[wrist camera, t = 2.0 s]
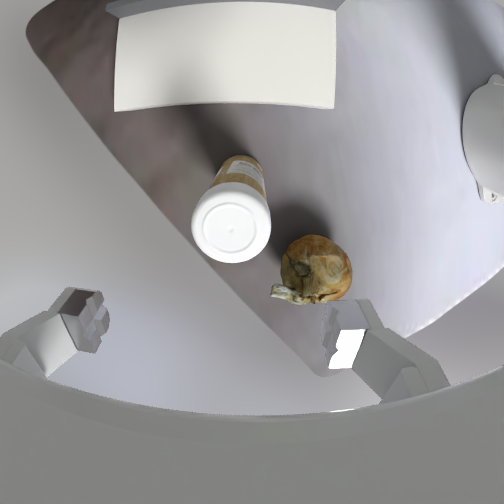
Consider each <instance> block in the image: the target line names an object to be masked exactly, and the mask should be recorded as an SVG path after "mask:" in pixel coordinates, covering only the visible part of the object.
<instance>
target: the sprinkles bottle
mask: <svg viewBox="0 0 504 504" xmlns="http://www.w3.org/2000/svg"><path fill="white" fill-rule="evenodd" d="M191 229H192V234H193V237H194V239H195V242H196V243H197V245H198V246H199V248H200V249H201V250H202V251H203V252H204V253H205V254H207V255H208V256H210V257H211V258H213V259H216V260H218V261H221V262H227V263H238V262H243V261H246V260H249V259H251V258H253V257H254V256H256V255H257V254H258V253H260V252H261V250H262V249H263V248H264V247H265V245H266V244H267V242H268V239H269V237H270V232H271V218H270V211H269V208H268V205H267V203H266V193H265V186H264V180H263V171H262V168H261V166H260V165H259V164H258V162H256V161H255V160H254V159H253V158H251V157H248V156H245V155H237V156H233V157H230V158H229V159H227V160H226V161H225V162H224V163H223V165H222V166H221V168H220V169H219V172H218V173H217V175H216V176H215V178H214V180H213V182H212V185H211V187H210V188H209V190H208V191H207V192H205V193H204V195H203V196H202V197H201V199H200V200H199V202H198V204H197V206H196V208H195V210H194V213H193V216H192V221H191Z"/></svg>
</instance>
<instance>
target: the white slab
mask: <svg viewBox="0 0 504 504" xmlns="http://www.w3.org/2000/svg"><path fill="white" fill-rule="evenodd" d="M344 1H345V0H118V1H115V2H111V3H108V4H106V9H105V11H106V12H108V13H110V14H112V15H114V16H116V17H117V18H119V27H118V36H117V47H116V61H115V88H114V112H116V111H131V110H138V109H145V108H153V107H163V106H174V105H187V104H207V103H258V104H278V105H292V106H303V107H312V108H320V109H334V97H335V73H336V10H337V9H338V8H339V6H340V5H341V4H342V3H343V2H344Z"/></svg>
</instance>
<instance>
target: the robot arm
mask: <svg viewBox="0 0 504 504" xmlns="http://www.w3.org/2000/svg"><path fill="white" fill-rule="evenodd" d="M463 145H464V151H465V155H466V159H467V162H468V165H469V167H470V170H471V172H472V173H473V175H474V177H475V179H476V181H477V183H478V189H479V194H480V198H481V200H482V201H483V202H485V203H488V204H490V203H501V202H504V79H503V78H502V77H501V76H500V75H496V74H493V75H492V76H491V78H490V79H489V81H488V83H487V84H486V85H484V86H481V87H479V88H477V89H476V90H475V91H474V92H473V93H472V94H471V96H470V98H469V99H468V102H467V104H466V107H465V111H464V117H463ZM103 302H104V298H103V295H102V293H101V292H100V291H98V290H90V289H82V288H74V287H68V288H66V289H65V290H64V291H63V292H62V294H61V295H60V296H59V297H58V298H57V300H56V301H55V302H54V303H53V305H52V306H51V307H50V309H49V310H48V311H43V312H41V313H39V314H38V315H36V316H34V317H32V318H30V319H29V320H27V321H25V322H23V323H21V324H19V325H17V326H16V327H14V328H12V329H10V330H8V331H7V332H5V333H3V334H2V336H1V337H0V504H504V365H502V366H500V367H498V368H495V369H493V370H491V371H489V372H486V373H484V374H481V375H479V376H476V377H474V378H471V379H468V380H466V381H463V382H460V383H457V384H455V385H450V383H449V381H448V379H447V378H446V376H445V374H444V372H443V370H442V368H441V366H440V364H439V363H438V361H437V360H436V359H434V358H433V357H431V356H430V355H428V354H427V353H425V352H424V351H422V350H421V349H419V348H418V347H416V346H415V345H413V344H412V343H410V342H409V341H407V340H406V339H404V338H403V337H401V336H400V335H398V334H397V333H395V332H394V331H392V330H391V329H389V328H384V326H383V324H382V322H381V320H380V318H379V316H378V315H377V313H376V311H375V309H374V307H373V305H372V303H371V302H370V300H369V299H355V300H328V301H327V303H326V306H325V312H326V316H325V317H324V318H323V319H322V323H321V330H320V336H321V342H322V345H323V346H324V347H326V351H325V357H326V361H327V365H328V368H345V367H351V369H352V370H353V371H354V372H355V373H356V374H357V375H358V376H359V377H360V378H362V380H364V382H365V383H366V384H367V385H368V386H369V387H370V388H371V389H372V390H373V391H374V392H375V393H376V394H377V395H378V396H379V397H381V399H382V401H381V402H380V403H379V404H378V405H372V406H367V407H361V408H354V409H347V410H340V411H331V412H322V413H310V414H295V415H265V416H264V415H262V416H254V415H253V416H252V415H249V416H248V415H222V414H207V413H196V412H195V413H194V412H186V411H178V410H169V409H163V408H157V407H150V406H145V405H140V404H134V403H130V402H124V401H120V400H116V399H112V398H107V397H103V396H99V395H95V394H92V393H88V392H85V391H81V390H78V389H75V388H72V387H68V386H65V385H62V384H59V383H56V382H54V381H51V380H48V378H47V377H48V376H49V375H50V374H51V373H52V372H53V371H54V370H56V369H57V368H58V367H59V366H61V364H63V363H64V362H65V361H66V360H68V359H69V358H70V357H71V356H73V355H74V354H75V353H76V352H77V350H79V351H84V352H89V353H96V351H97V349H98V347H99V345H100V343H101V337H100V336H102V335H103V334H105V333H106V332H107V329H108V327H109V321H110V319H109V313H108V310H107V308H106V307H105V306H104V305H103Z"/></svg>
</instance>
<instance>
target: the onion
mask: <svg viewBox="0 0 504 504" xmlns="http://www.w3.org/2000/svg"><path fill="white" fill-rule="evenodd" d="M281 278H282V282H283V285H280V284H274V285H272V288H271V294H270V296H272V297H277V298H282V299H285V300H287V301H290V302H291V303H293V304H297V305H306V304H307V303H309V302H310V301H311V302H312V303H313V304H315V302H324V303H327V301H328V300H337V299H339V298H341V297H342V296H343V295H344V294H345V293H346V292H347V291H348V289H349V288H350V286H351V283H352V267H351V263H350V260H349V258H348V256H347V254H346V253H345V252H344V251H343V250H342V249H341V248H340V247H339V246H338V245H336V244H335V243H334V242H332V241H331V240H329V239H328V238H325V237H322V236H319V235H305V236H303V237H301V238H300V239H298V240H295V241H294V242H292V243H291V244H290V245H289V246H288V247H287V249H286V250H285V252H284V255H283V257H282V261H281Z"/></svg>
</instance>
